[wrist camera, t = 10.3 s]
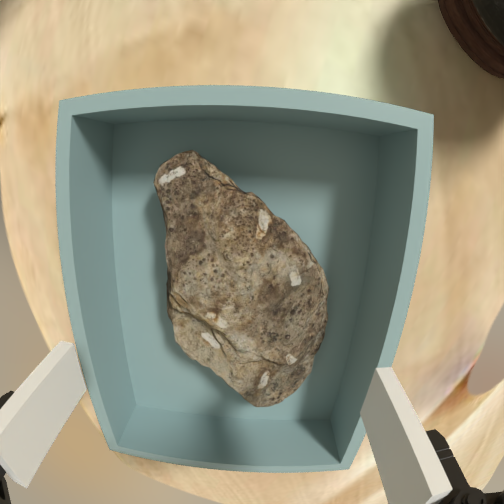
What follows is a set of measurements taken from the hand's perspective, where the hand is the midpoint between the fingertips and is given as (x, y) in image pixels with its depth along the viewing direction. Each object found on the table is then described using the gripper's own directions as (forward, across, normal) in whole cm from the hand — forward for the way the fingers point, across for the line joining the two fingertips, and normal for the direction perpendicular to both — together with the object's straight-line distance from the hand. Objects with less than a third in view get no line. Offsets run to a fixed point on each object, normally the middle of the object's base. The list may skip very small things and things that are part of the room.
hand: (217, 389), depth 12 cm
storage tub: (+11, 0, -1) cm, 11 cm away
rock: (+10, +1, 0) cm, 10 cm away
